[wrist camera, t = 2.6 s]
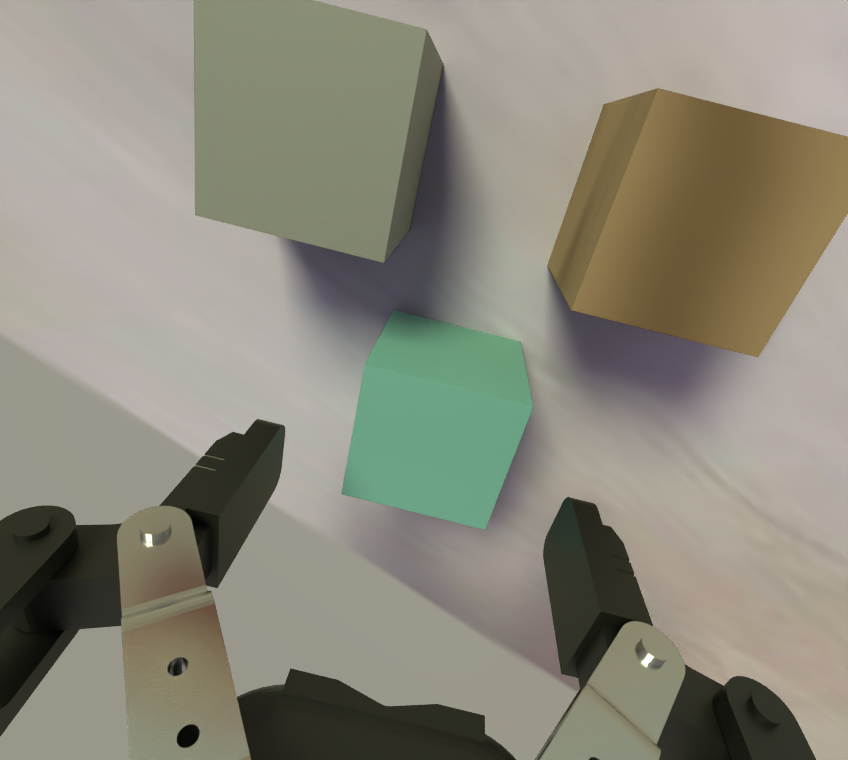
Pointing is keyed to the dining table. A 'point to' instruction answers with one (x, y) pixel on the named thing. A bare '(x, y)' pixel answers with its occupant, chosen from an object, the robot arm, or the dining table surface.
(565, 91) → the dining table surface
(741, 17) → the dining table surface
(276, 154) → the grey-green rectangular block
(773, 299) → the brass block
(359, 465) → the teal block
